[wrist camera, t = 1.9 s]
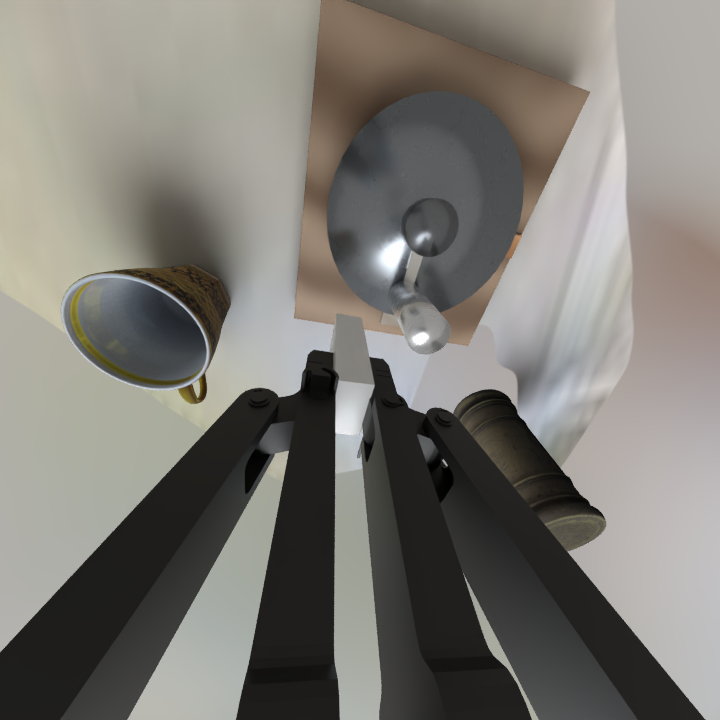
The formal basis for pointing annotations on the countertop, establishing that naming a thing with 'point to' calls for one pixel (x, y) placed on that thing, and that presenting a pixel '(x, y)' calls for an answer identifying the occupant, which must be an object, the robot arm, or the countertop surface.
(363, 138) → the dial
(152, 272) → the ceramic cup
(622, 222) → the countertop surface
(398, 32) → the stand
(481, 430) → the container
